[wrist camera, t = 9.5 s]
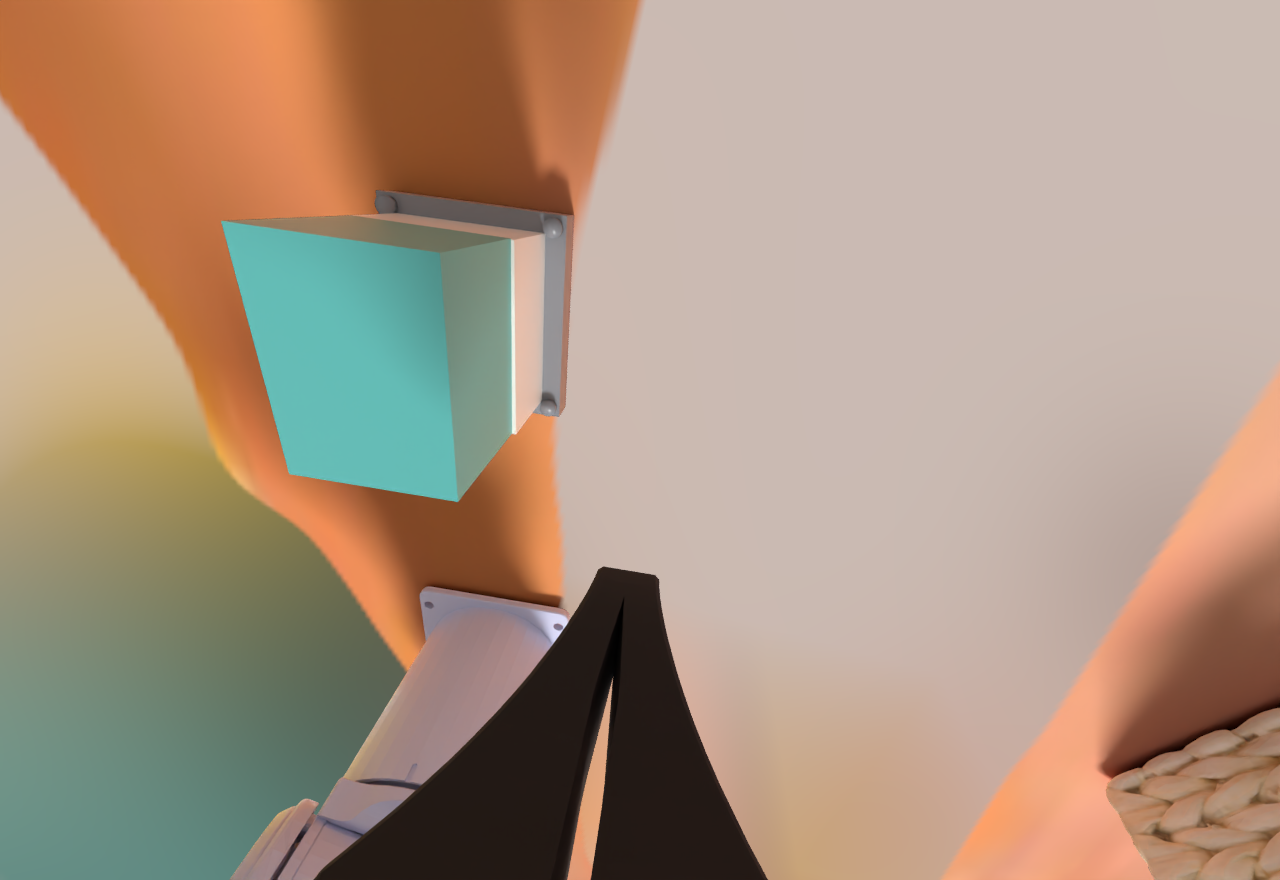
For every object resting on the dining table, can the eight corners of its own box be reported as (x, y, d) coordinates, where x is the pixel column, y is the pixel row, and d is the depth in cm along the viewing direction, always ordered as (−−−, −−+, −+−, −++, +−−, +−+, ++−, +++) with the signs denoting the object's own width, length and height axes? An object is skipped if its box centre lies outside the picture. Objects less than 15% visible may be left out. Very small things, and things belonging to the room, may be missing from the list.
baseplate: (565, 406, 19) (557, 419, 18) (415, 384, 20) (397, 395, 18) (573, 215, 16) (564, 216, 15) (393, 190, 16) (370, 189, 15)
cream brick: (542, 400, 18) (515, 434, 15) (417, 381, 18) (370, 412, 16) (545, 233, 15) (514, 240, 13) (398, 213, 16) (337, 215, 13)
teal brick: (512, 433, 15) (458, 502, 12) (381, 411, 16) (289, 473, 12) (511, 238, 13) (439, 253, 9) (351, 215, 13) (221, 220, 9)
